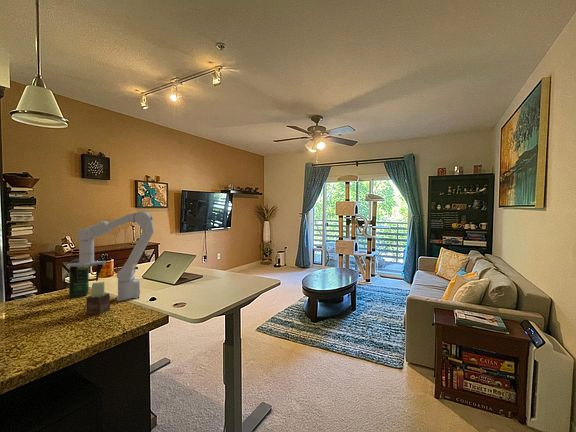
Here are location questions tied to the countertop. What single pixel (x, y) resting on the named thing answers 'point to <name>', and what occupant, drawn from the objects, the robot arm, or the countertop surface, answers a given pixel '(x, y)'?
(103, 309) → the box
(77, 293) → the coffee jar
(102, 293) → the sage block
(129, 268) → the robot arm
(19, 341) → the countertop surface
